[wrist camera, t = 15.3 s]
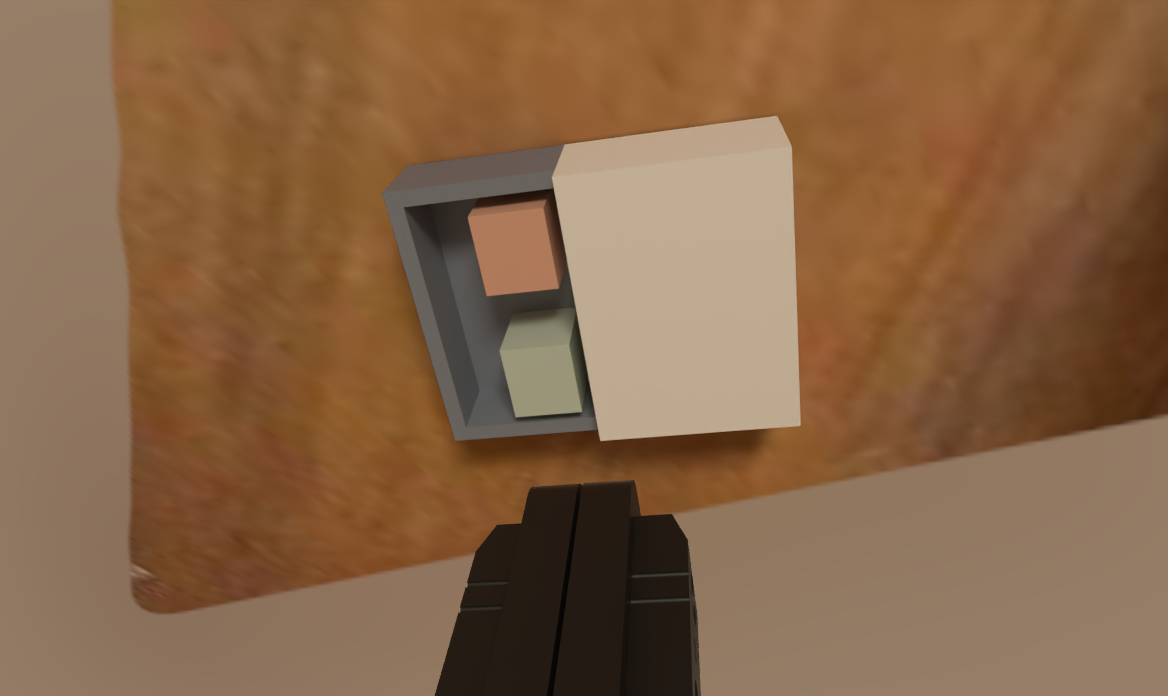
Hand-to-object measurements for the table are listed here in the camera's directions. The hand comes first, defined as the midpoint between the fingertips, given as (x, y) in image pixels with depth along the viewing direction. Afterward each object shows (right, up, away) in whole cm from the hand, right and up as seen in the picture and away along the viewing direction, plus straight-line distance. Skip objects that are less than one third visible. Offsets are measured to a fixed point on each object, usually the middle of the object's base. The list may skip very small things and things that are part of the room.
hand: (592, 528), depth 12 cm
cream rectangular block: (+5, +7, +29) cm, 30 cm away
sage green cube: (0, +2, +30) cm, 30 cm away
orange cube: (-1, +8, +26) cm, 28 cm away
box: (-4, +6, +31) cm, 31 cm away
